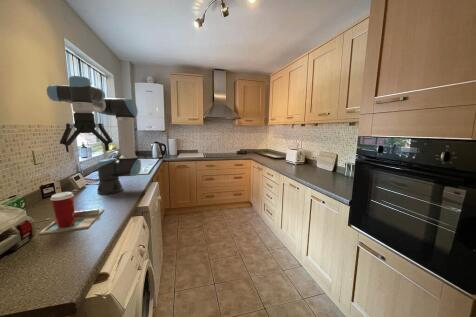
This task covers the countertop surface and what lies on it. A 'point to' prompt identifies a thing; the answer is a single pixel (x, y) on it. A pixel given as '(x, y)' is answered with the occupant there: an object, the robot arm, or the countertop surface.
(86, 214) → the rail
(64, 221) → the coffee cup
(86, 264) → the countertop surface
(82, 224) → the board
